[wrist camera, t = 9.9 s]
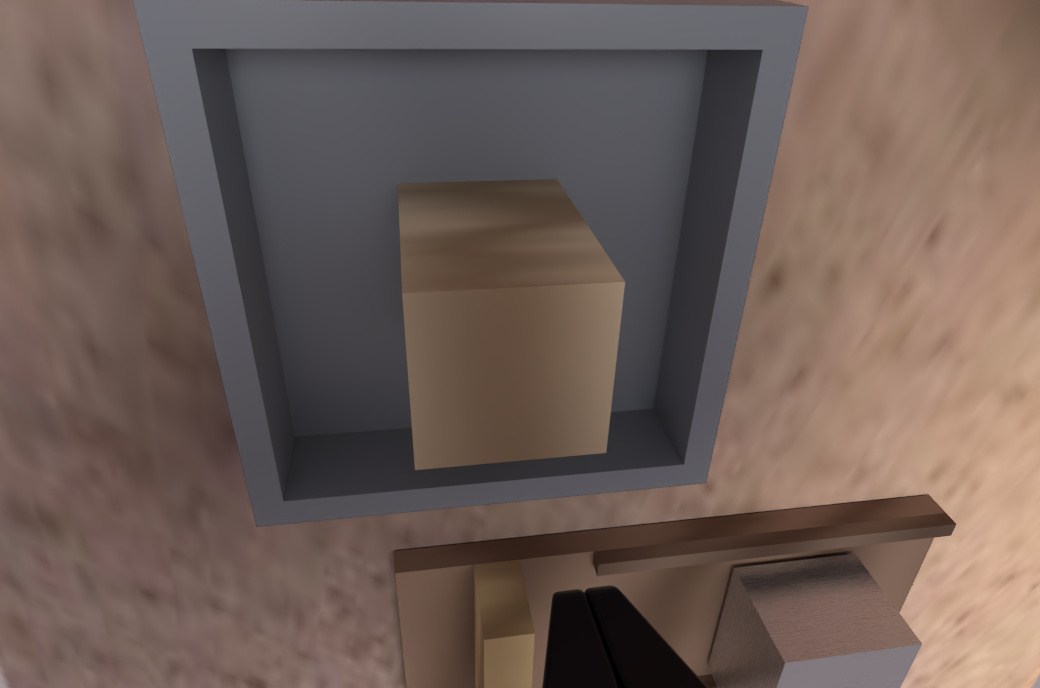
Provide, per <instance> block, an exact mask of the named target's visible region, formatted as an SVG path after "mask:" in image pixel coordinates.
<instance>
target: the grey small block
mask: <svg viewBox="0 0 1040 688" xmlns="http://www.w3.org/2000/svg"><path fill="white" fill-rule="evenodd" d="M921 645H922V643H921V642H920V640H919V639H918V638H917V636H916V635H915V634H914V632H913V631H912V630H911V628H910V627H909V626H908V624H907V623H906V621H905V620H904V619H903V617H902V616H901V615H900V613H899V612H898V611H897V609H896V608H895V607H894V605H893V604H892V603H891V601H890V600H889V599H888V597H887V596H886V594H885V593H884V592H883V590H882V589H881V588H880V586H879V585H878V584H877V582H876V581H875V580H874V578H873V577H872V576H871V574H870V573H869V572H868V570H867V569H866V568H865V566H864V565H863V563H862V562H861V561H860V559H859V558H858V557H857V555H856V554H848V555H840V556H831V557H823V558H814V559H806V560H797V561H789V562H780V563H772V564H763V565H755V566H746V567H738V568H734V570H733V574H732V577H731V581H730V585H729V589H728V592H727V596H726V600H725V604H724V608H723V611H722V615H721V619H720V623H719V627H718V630H717V634H716V638H715V642H714V645H713V649H712V653H711V657H710V661H709V664H708V668H709V670H710V672H711V675H712V677H713V679H714V682H715V684H716V686H717V688H900V687H901V685H902V683H903V681H904V679H905V677H906V675H907V673H908V671H909V669H910V667H911V665H912V663H913V661H914V659H915V657H916V655H917V653H918V651H919V649H920V647H921Z"/></svg>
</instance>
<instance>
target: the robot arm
mask: <svg viewBox="0 0 1040 688" xmlns="http://www.w3.org/2000/svg"><path fill="white" fill-rule="evenodd" d="M542 688H708V687H707V686H706V685H705V683H704V682H703V681H702V680H701V679H700V678H699V677H698V676H697V675H696V674H695V672H694V671H693V670H692V669H691V668H690V667H689V666H688V665H687V664H686V662H685V661H684V660H683V659H682V658H681V657H680V656H679V655H678V654H677V653H676V651H675V650H674V649H673V648H672V647H671V646H670V645H669V644H668V643H667V641H666V640H665V639H664V638H663V637H662V636H661V635H660V634H659V633H658V632H657V630H656V629H655V628H654V627H653V626H652V625H651V624H650V623H649V622H648V620H647V619H646V618H645V617H644V616H643V615H642V614H641V613H640V612H639V611H638V609H637V608H636V607H635V606H634V605H633V604H632V603H631V602H630V601H629V599H628V598H627V597H626V596H625V595H624V594H623V593H622V592H621V591H620V590H619V589H618V588H617V587H615V586H611V585H609V586H600V587H592V588H588V589H586V590H585V592H583V591H582V590H580V589H575V590H567V591H558V592H555V593H554V594H553V596H552V603H551V612H550V621H549V630H548V639H547V648H546V658H545V667H544V676H543V685H542Z"/></svg>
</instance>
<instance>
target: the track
mask: <svg viewBox="0 0 1040 688" xmlns="http://www.w3.org/2000/svg"><path fill="white" fill-rule="evenodd" d="M955 526H956V523H955V522H954V521H953V520H952V519H951V518H950V517H949V516H948V515H947V514H946V513H945V512H944V511H943V509H942V508H941V507H940V506H939V505H938V504H937V503H936V502H935V501H934V500H933V499H932V498H931V497H930V496H929V495H922V496H913V497H903V498H894V499H884V500H875V501H865V502H856V503H846V504H837V505H827V506H818V507H808V508H799V509H789V510H780V511H770V512H761V513H751V514H742V515H732V516H723V517H713V518H704V519H694V520H685V521H675V522H666V523H656V524H647V525H637V526H628V527H618V528H609V529H599V530H590V531H580V532H571V533H561V534H552V535H542V536H533V537H523V538H514V539H504V540H495V541H485V542H476V543H466V544H457V545H447V546H438V547H428V548H419V549H409V550H400V551H395V578H396V588H397V598H398V609H399V619H400V629H401V639H402V649H403V660H404V670H405V680H406V688H542V685H543V676H544V667H545V658H546V648H547V639H548V630H549V621H550V612H551V603H552V596H553V594H554V593H555V592H558V591H567V590H575V589H580V590H582V591H583V592H585V590H586V589H588V588H592V587H600V586H609V585H611V586H615V587H617V588H618V589H619V590H620V591H621V592H622V593H623V594H624V595H625V596H626V597H627V598H628V599H629V601H630V602H631V603H632V604H633V605H634V606H635V607H636V608H637V609H638V611H639V612H640V613H641V614H642V615H643V616H644V617H645V618H646V619H647V620H648V622H649V623H650V624H651V625H652V626H653V627H654V628H655V629H656V630H657V632H658V633H659V634H660V635H661V636H662V637H663V638H664V639H665V640H666V641H667V643H668V644H669V645H670V646H671V647H672V648H673V649H674V650H675V651H676V653H677V654H678V655H679V656H680V657H681V658H682V659H683V660H684V661H685V662H686V664H687V665H688V666H689V667H690V668H691V669H692V670H693V671H694V672H695V674H696V675H697V676H698V677H699V678H700V679H701V680H702V681H703V682H704V683H705V685H706V686H707V687H708V688H717V686H716V684H715V682H714V679H713V677H712V675H711V672H710V670H709V668H708V664H709V661H710V657H711V653H712V649H713V645H714V642H715V638H716V634H717V630H718V627H719V623H720V619H721V615H722V611H723V608H724V604H725V600H726V596H727V592H728V589H729V585H730V581H731V577H732V574H733V570H734V568H738V567H746V566H755V565H763V564H772V563H780V562H789V561H797V560H806V559H814V558H823V557H831V556H840V555H848V554H856V555H857V557H858V558H859V559H860V561H861V562H862V563H863V565H864V566H865V568H866V569H867V570H868V572H869V573H870V574H871V576H872V577H873V578H874V580H875V581H876V582H877V584H878V585H879V586H880V588H881V589H882V590H883V592H884V593H885V594H886V596H887V597H888V599H889V600H890V601H891V603H892V604H893V605H894V607H895V608H896V609H897V611H898V612H900V610H901V608H902V606H903V604H904V602H905V599H906V597H907V595H908V593H909V591H910V589H911V586H912V584H913V582H914V580H915V578H916V576H917V574H918V571H919V569H920V567H921V565H922V563H923V561H924V558H925V556H926V554H927V552H928V550H929V548H930V545H931V543H932V541H933V539H934V537H942V536H950V535H951V534H952V532H953V530H954V528H955Z"/></svg>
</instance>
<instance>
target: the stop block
mask: <svg viewBox="0 0 1040 688" xmlns="http://www.w3.org/2000/svg"><path fill="white" fill-rule="evenodd" d="M398 202H399V227H400V252H401V277H402V298H403V312H404V325H405V339H406V353H407V367H408V381H409V395H410V408H411V422H412V436H413V450H414V464H415V470H422V469H433V468H444V467H455V466H466V465H477V464H488V463H500V462H511V461H522V460H533V459H544V458H555V457H566V456H577V455H588V454H599V453H606V450H607V441H608V432H609V423H610V414H611V405H612V396H613V387H614V378H615V369H616V360H617V351H618V342H619V333H620V324H621V315H622V306H623V297H624V288H625V281H624V279H623V278H622V276H621V275H620V273H619V272H618V270H617V269H616V267H615V266H614V264H613V263H612V261H611V260H610V258H609V257H608V255H607V254H606V252H605V251H604V249H603V248H602V246H601V245H600V243H599V242H598V240H597V239H596V237H595V236H594V234H593V232H592V231H591V229H590V228H589V226H588V225H587V223H586V222H585V220H584V219H583V217H582V216H581V214H580V213H579V211H578V210H577V208H576V207H575V205H574V204H573V202H572V201H571V199H570V198H569V196H568V195H567V193H566V192H565V190H564V189H563V187H562V186H561V184H560V183H559V181H558V180H557V179H539V180H505V181H470V182H436V183H402V184H398Z"/></svg>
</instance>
